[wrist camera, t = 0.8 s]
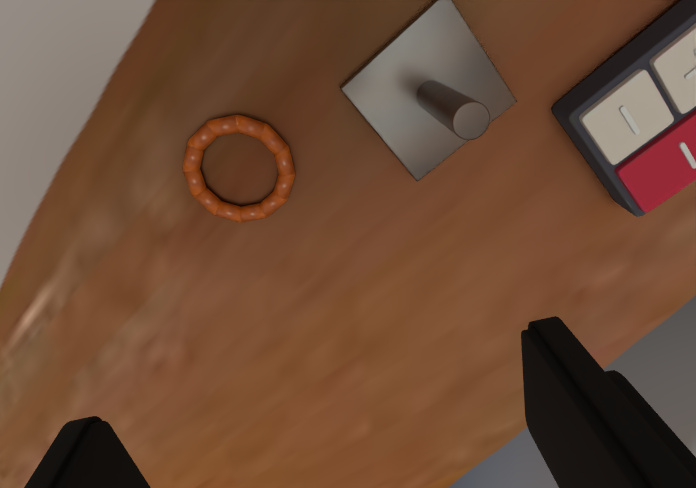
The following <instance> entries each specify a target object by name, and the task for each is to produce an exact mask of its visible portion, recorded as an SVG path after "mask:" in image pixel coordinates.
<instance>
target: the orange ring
mask: <svg viewBox="0 0 696 488" xmlns="http://www.w3.org/2000/svg"><path fill="white" fill-rule="evenodd" d="M237 132H239V133H242V134H245V135H248V136H251V137H255V138H258V139H260V140H261V142H262V143H263V144H264V145H265V146H266V147H267V148H268V149H269V150H270V151H271V152H272V153H273V154H274V157H275V160H276V164H277V168H278V171H279V175H278V178H277V182H276V185H275V189H274V191H273V192H272V193H271V194H270V195H269V196H268V197H266V198H265V199H264V200H263V201H262V202H261V203H258V204H253V205H248V206H243V207H240V206H237V205H233V204H230V203H226V202H223V201H221V200H220V199H219V198H218V197H217V196H216V195H215V194H213V193H212V192H211V191H210V190H209V189H208V188H207V187H206V184H205V181H204V178H203V176H202V173H201V170H200V166H201V162H202V157H203V152H204V149H205V148H206V147H207V146H209V145H210V144H211V143H212V142H213V141H214V140H215V139H216V138H217V137H218V136H222V135H227V134H232V133H237ZM182 169H183V172H184V175H185V178H186V180H187V183H188V186H189V189H190V191H191V194H192V196H193V197H194V198H195V199H196V200H197V201H199V202H200V203H201V204H202V205H203V206H204V207H205V208H206V209H208V210H209V211H210V212H211V213H212V214H213V215H215V216H219V217H222V218H226V219H230V220H233V221H237V222H247V221H252V220H257V219H262V218H266V217H268V216H270V215H271V214H272V213H273V212H274V211H275V210H277V209H278V208H279V207H280V206H281V205H282V204H284V203H285V202H286V201H287V200H288V197H289V194H290V191H291V188H292V184H293V181H294V178H295V169H294V165H293V161H292V157H291V153H290V149H289V146H288V145H287V144H286V143H285V142H284V141H283V140H282V138H281V137H280V136H279V135H278V134H277V133H276V132H275V131H274V130H273V129H272V128H271V127H270V126H269V125H268V124H266V123H263V122H260V121H257V120H254V119H251V118H248V117H245V116H242V115H239V114H237V115H232V116H227V117H222V118H217V119H212V120H209V121H207V122H206V123H205V124H204V125H203V126H202V127H201V128H200V129H199V130H198V131H197V132H196V133H195V134H194V135H193V136H192V137H191V138H190V139H189V140H188V142H187V147H186V152H185V157H184V162H183V167H182Z"/></svg>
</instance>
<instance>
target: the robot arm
mask: <svg viewBox="0 0 696 488" xmlns="http://www.w3.org/2000/svg"><path fill="white" fill-rule="evenodd" d="M521 342H522V361H523V380H524V399H525V417H526V422H527V426H528V429H529V431H530V433H531V435H532V437H533V439H534V441H535V443H536V444H537V447H538V449H539V450H540V452H541V454H542V456H543V458H544V460H545V462H546V464H547V466H548V468H549V469H550V471H551V473H552V475H553V477H554V479H555V481H556V482H557V484H558V486H559V488H696V457H695V456H694V455H693V454H692V453H691V451H690V450H689V449H688V448H687V447H686V446H685V445H684V444H683V442H682V441H681V440H680V439H679V438H678V437H677V436H676V435H675V433H674V432H673V431H672V430H671V429H670V428H669V427H668V425H667V424H666V423H665V422H664V421H663V420H662V419H661V418H660V417H659V415H658V414H657V413H656V412H655V411H654V410H653V409H652V407H651V406H650V405H649V404H648V403H647V402H646V401H645V400H644V398H643V397H642V396H641V395H640V394H639V393H638V392H637V390H636V389H635V388H634V387H633V386H632V385H631V384H630V383H629V382H628V380H627V379H626V378H625V377H624V376H623V375H622V374H620V373H619V372H617V371H615V370H613V371H606V372H604V370H603V369H602V368H601V367H600V366H599V364H598V363H597V362H596V361H595V360H594V358H593V357H592V356H591V355H590V354H589V352H588V351H587V350H586V349H585V348H584V347H583V345H582V344H581V343H580V342H579V341H578V339H577V338H576V337H575V336H574V335H573V333H572V332H571V331H570V330H569V329H568V327H567V326H566V325H565V324H564V323H563V322H562V320H561V319H560V318H558V317H556V316H555V317H550V318H546V319H541V320H536V321H532V322H529V325H528V329H527V330H523V331H522V332H521ZM24 488H150V486H149V485H148V483H147V481H146V480H145V478H144V477H143V475H142V474H141V472H140V471H139V469H138V468H137V466H136V464H135V463H134V461H133V460H132V458H131V457H130V455H129V454H128V452H127V451H126V449H125V447H124V446H123V444H122V443H121V441H120V440H119V438H118V437H117V435H116V434H115V432H114V431H113V429H112V427H111V426H110V424H109V423H108V422H106V421H102V420H101V419H100V418H99V417H97V416H92V417H88V418H83V419H78V420H74V421H69V422H68V423H66V424H65V425H64V426H63V427H62V429H61V430H60V432H59V434H58V435H57V437H56V438H55V440H54V441H53V443H52V445H51V446H50V448H49V449H48V451H47V452H46V454H45V456H44V457H43V459H42V460H41V462H40V464H39V465H38V467H37V468H36V470H35V471H34V473H33V475H32V476H31V478H30V479H29V481H28V483H27V484H26V486H25V487H24Z"/></svg>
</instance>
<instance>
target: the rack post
mask: <svg viewBox="0 0 696 488" xmlns="http://www.w3.org/2000/svg"><path fill="white" fill-rule="evenodd" d="M340 88H341V90H342V91H343V93H344V94H345V95H346V96H347V97H348V99H349V100H350V101H351V102H352V103H353V105H354V106H355V107H356V108H357V109H358V111H359V112H360V113H361V114H362V115H363V117H364V118H365V119H366V120H367V122H368V123H369V124H370V125H371V126H372V128H373V129H374V130H375V131H376V132H377V134H378V135H379V136H380V137H381V138H382V140H383V141H384V142H385V143H386V144H387V146H388V147H389V148H390V149H391V150H392V152H393V153H394V154H395V155H396V156H397V158H398V159H399V160H400V161H401V162H402V164H403V165H404V166H405V167H406V169H407V170H408V171H409V172H410V173H411V175H412V176H413V177H414V178H415V179H416V181H419V180H420V179H421V178H423V177H424V176H425V175H426V174H428V173H429V172H430V171H431V170H432V169H434V168H435V167H436V166H437V165H439V164H440V163H441V162H442V161H444V160H445V159H446V158H447V157H449V156H450V155H451V154H452V153H454V152H455V151H456V150H457V149H459V148H460V147H461V146H462V145H464V144H465V143H466V142H467V141H469V140H473V139H476V138H478V137H480V136H481V135H482V134H483V133H484V132H485V131H486V129H487V128H488V125H489V124H490V123H491V122H492V121H493V120H495V119H496V118H497V117H498V116H500V115H501V114H502V113H503V112H505V111H506V110H507V109H508V108H510V107H511V106H512V105H513V104H514V103H516V102H517V100H516V99H515V97H514V96H513V94H512V93H511V91H510V90H509V88H508V87H507V85H506V83H505V82H504V80H503V79H502V77H501V76H500V74H499V73H498V71H497V70H496V68H495V66H494V65H493V63H492V62H491V60H490V59H489V57H488V56H487V54H486V52H485V51H484V49H483V48H482V46H481V45H480V43H479V42H478V40H477V39H476V37H475V35H474V34H473V32H472V31H471V29H470V28H469V26H468V25H467V23H466V22H465V20H464V18H463V17H462V15H461V14H460V12H459V11H458V9H457V8H456V6H455V5H454V3H453V1H452V0H434V1H433V2H432V3H431V4H430V5H429V6H428V7H426V8H425V9H424V10H423V11H422V12H421V13H420V14H419V15H418V16H417V17H416V18H414V19H413V20H412V21H411V22H410V23H409V24H408V25H407V26H406V27H405V28H404V29H403V30H401V31H400V32H399V33H398V34H397V35H396V36H395V37H394V38H393V39H392V40H391V41H389V42H388V43H387V44H386V45H385V46H384V47H383V48H382V49H381V50H380V51H379V52H378V53H376V54H375V55H374V56H373V57H372V58H371V59H370V60H369V61H368V62H367V63H366V64H364V65H363V66H362V67H361V68H360V69H359V70H358V71H357V72H356V73H355V74H354V75H353V76H351V77H350V78H349V79H348V80H347V81H346V82H345V83H344V84H343V85H342V86H341V87H340Z"/></svg>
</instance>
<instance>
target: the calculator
mask: <svg viewBox="0 0 696 488" xmlns="http://www.w3.org/2000/svg"><path fill="white" fill-rule="evenodd" d="M552 112H553V114H554V115H555V117H556V118H557V120H558V121H559V122H560V124H561V125H562V127H563V128H564V129H565V131H566V132H567V134H568V135H569V137H570V138H571V139H572V141H573V142H574V144H575V145H576V147H577V148H578V149H579V151H580V152H581V154H582V155H583V156H584V158H585V159H586V161H587V162H588V164H589V165H590V166H591V168H592V169H593V171H594V172H595V173H596V175H597V176H598V178H599V179H600V181H601V182H602V183H603V185H604V186H605V188H606V189H607V191H608V192H609V193H610V195H611V196H612V198H613V199H614V200H615V202H616V203H618V204H619V205H621V206H622V207H623V208H625V209H626V210H628V211H629V212H630V213H632V214H633V215H635V216H637V217H640V216H643V215H644V214H646V213H647V212H649V211H651V210H652V209H654V208H655V207H657V206H658V205H660V204H661V203H663V202H664V201H665V200H667V199H668V198H670V197H671V196H673V195H674V194H676V193H677V192H679V191H680V190H682V189H683V188H685V187H686V186H688V185H689V184H690V183H692V182H693V181H695V180H696V0H681V1H680V2H679V3H678V4H676V5H675V6H674V7H673V8H671V9H670V10H669V11H668V12H667V13H665V14H664V15H663V16H662V17H660V18H659V19H658V20H657V21H656V22H654V23H653V24H652V25H651V26H649V27H648V28H647V29H646V30H645V31H643V32H642V33H641V34H640V35H638V36H637V37H636V38H635V39H634V40H632V41H631V42H630V43H629V44H627V45H626V46H625V47H624V48H623V49H621V50H620V51H619V52H618V53H616V54H615V55H614V56H613V57H612V58H610V59H609V60H608V61H607V62H605V63H604V64H603V65H602V66H601V67H599V68H598V69H597V70H596V71H594V72H593V73H592V74H591V75H590V76H588V77H587V78H586V79H585V80H583V81H582V82H581V83H580V84H579V85H577V86H576V87H575V88H574V89H572V90H571V91H570V92H569V93H568V94H566V95H565V96H564V97H563V98H561V99H560V100H559V101H558V102H557V103H555V104H554V106H553V108H552Z"/></svg>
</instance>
